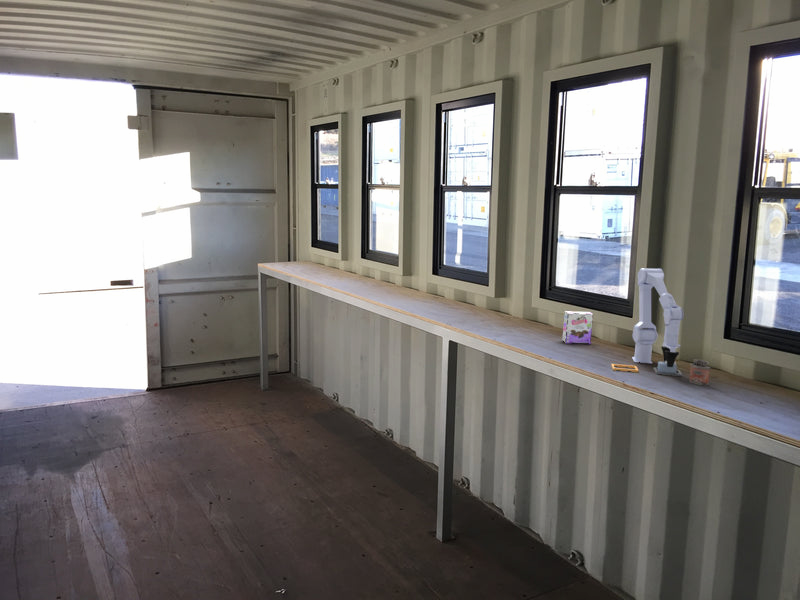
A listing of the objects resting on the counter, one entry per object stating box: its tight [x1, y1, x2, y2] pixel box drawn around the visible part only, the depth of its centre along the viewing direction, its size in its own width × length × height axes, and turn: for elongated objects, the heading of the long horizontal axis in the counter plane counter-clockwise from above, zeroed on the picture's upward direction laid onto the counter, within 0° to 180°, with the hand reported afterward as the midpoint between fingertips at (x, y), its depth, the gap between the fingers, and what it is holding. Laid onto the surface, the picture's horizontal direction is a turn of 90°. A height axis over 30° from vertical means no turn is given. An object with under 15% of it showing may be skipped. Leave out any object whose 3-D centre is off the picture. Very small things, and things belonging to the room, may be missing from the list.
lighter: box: [688, 358, 711, 386], centre depth 266 cm, size 8×3×10 cm, turn 40°
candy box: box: [561, 310, 594, 345], centre depth 337 cm, size 14×6×16 cm, turn 92°
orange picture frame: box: [610, 363, 639, 373], centre depth 285 cm, size 8×11×1 cm
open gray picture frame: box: [652, 367, 683, 377], centre depth 281 cm, size 8×11×1 cm
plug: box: [656, 361, 678, 373], centre depth 281 cm, size 4×7×5 cm, turn 77°
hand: (668, 364), depth 281 cm, fingers open, 7 cm apart
